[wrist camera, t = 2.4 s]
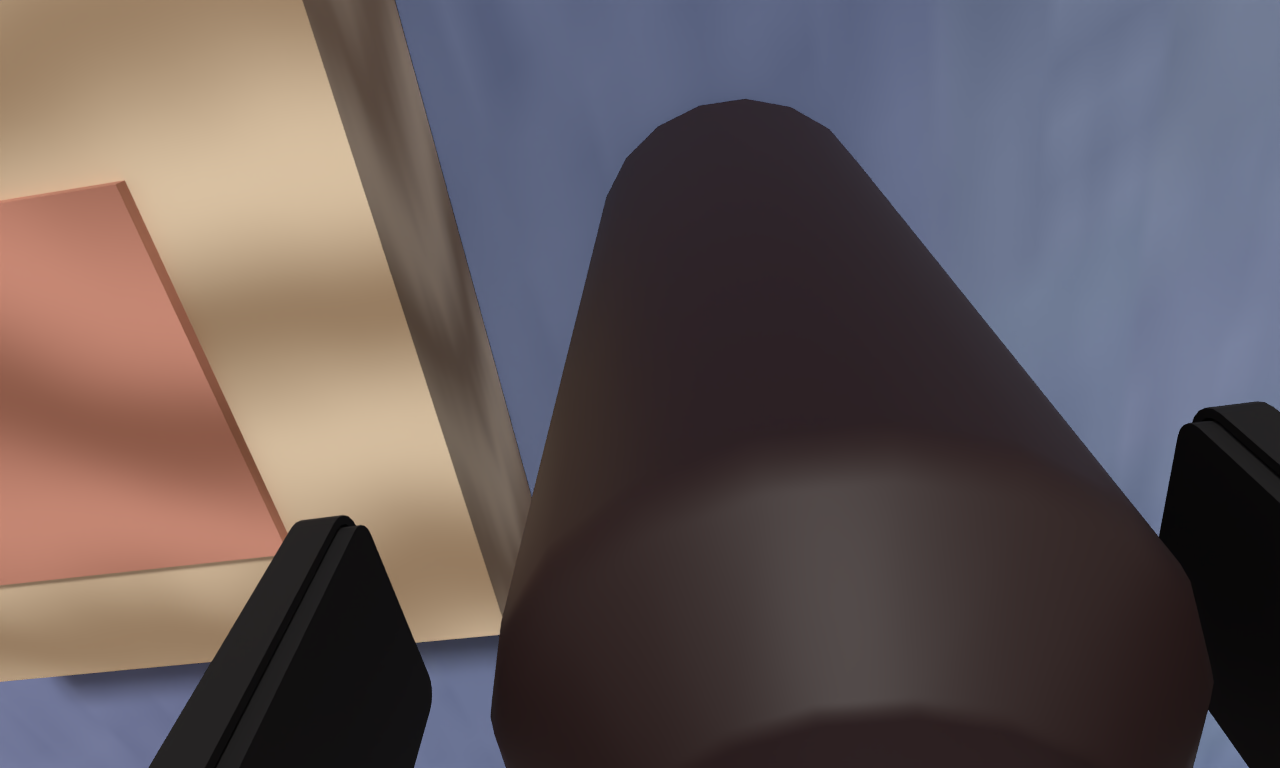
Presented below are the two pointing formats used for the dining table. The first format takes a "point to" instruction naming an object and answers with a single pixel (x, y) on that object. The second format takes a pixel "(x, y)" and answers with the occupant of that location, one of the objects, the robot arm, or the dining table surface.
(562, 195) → the dining table surface
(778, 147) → the vinegar
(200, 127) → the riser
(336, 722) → the robot arm
